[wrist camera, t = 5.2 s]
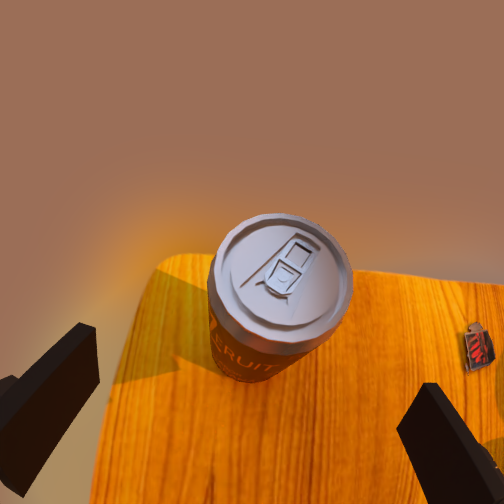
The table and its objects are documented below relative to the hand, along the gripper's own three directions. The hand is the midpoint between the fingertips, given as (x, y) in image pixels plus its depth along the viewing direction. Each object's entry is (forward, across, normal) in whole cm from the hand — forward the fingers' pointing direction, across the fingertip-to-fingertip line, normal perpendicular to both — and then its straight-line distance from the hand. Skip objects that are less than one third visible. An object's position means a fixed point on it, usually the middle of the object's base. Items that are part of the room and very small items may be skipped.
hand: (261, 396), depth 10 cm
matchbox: (+11, +22, -2) cm, 25 cm away
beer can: (+10, 0, -4) cm, 11 cm away
